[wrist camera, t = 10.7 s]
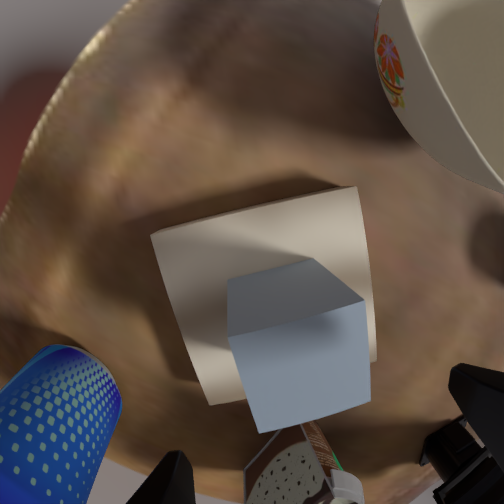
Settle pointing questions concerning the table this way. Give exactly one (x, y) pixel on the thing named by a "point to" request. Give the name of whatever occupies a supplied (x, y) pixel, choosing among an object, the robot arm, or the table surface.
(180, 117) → the table surface
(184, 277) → the birch base
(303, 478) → the food container
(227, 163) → the table surface
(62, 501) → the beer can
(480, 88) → the bowl
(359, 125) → the table surface
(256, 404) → the slate block
